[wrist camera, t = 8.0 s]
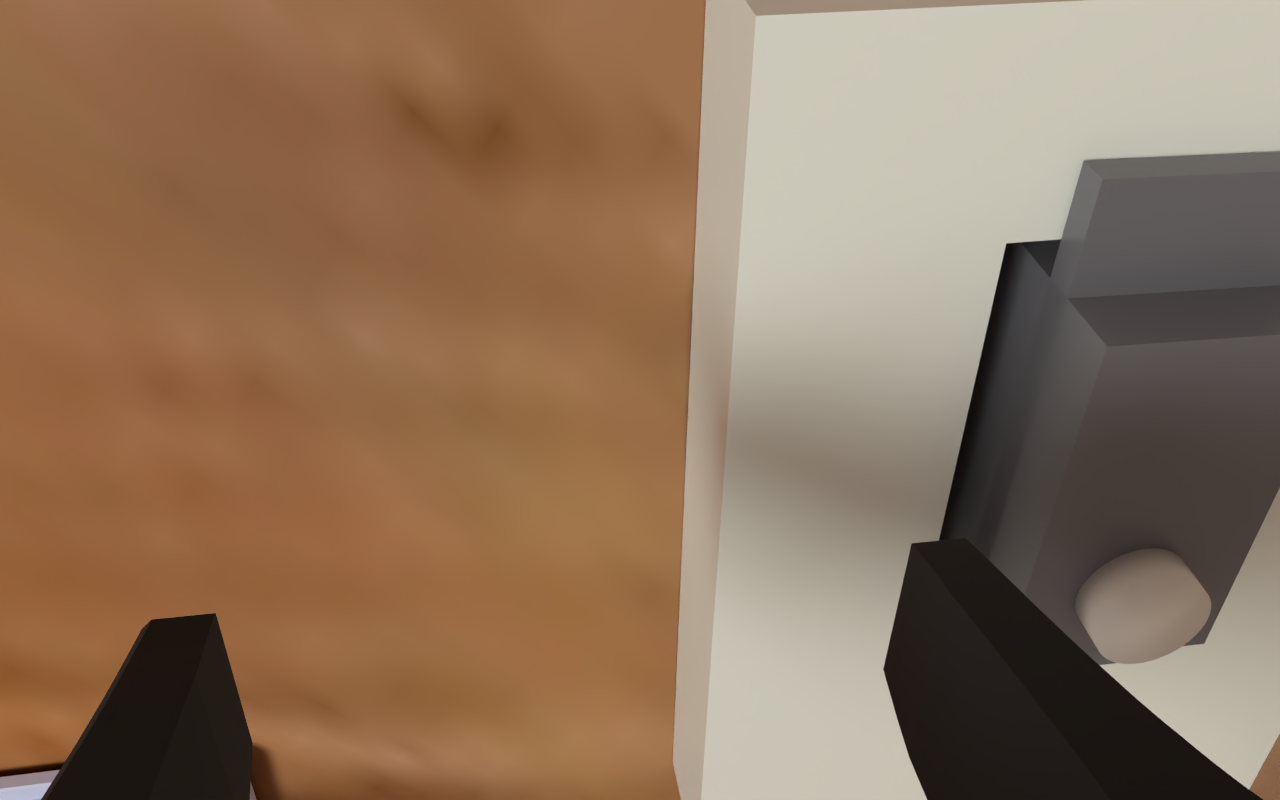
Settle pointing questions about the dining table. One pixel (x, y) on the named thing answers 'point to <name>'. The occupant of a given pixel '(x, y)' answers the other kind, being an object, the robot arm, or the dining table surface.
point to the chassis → (908, 346)
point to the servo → (1131, 403)
